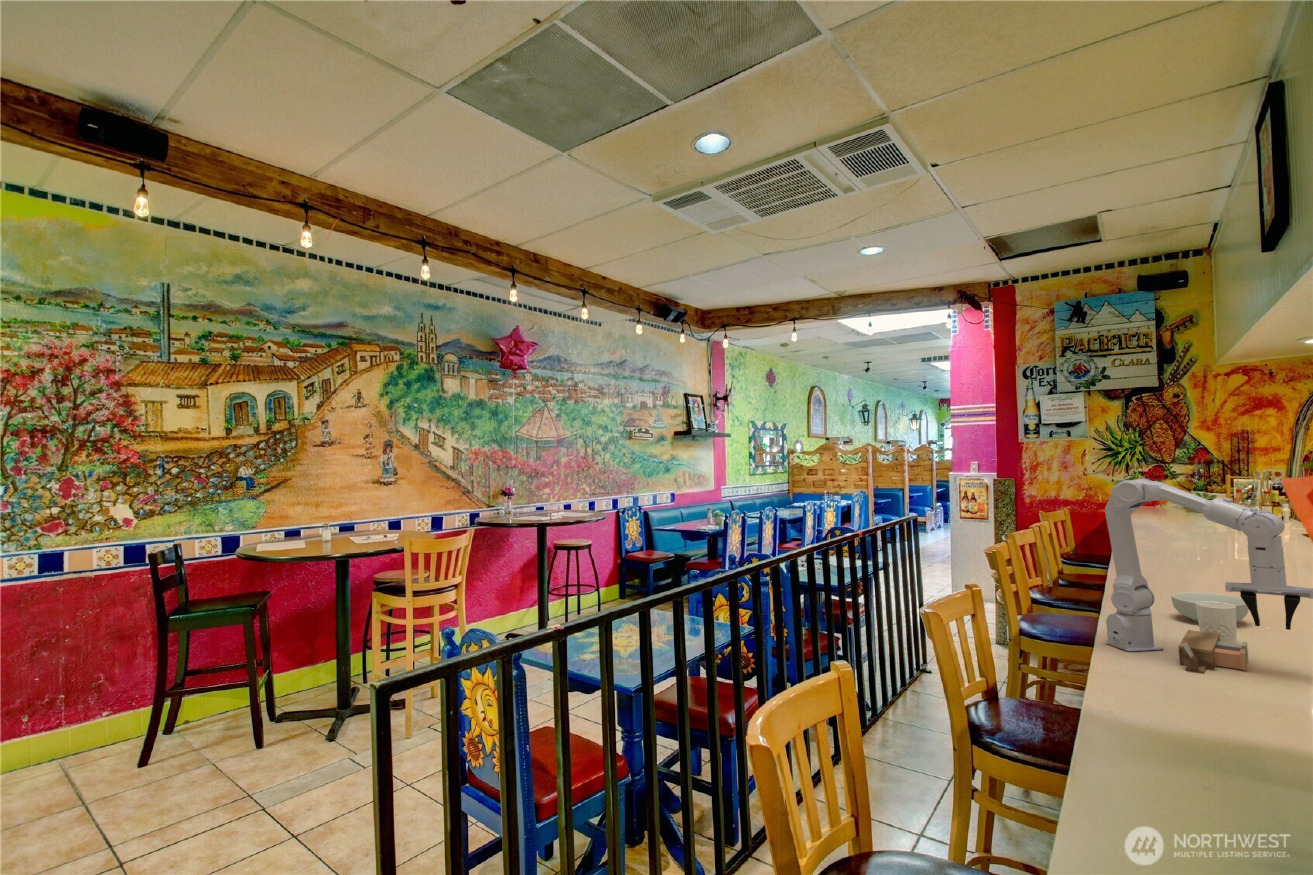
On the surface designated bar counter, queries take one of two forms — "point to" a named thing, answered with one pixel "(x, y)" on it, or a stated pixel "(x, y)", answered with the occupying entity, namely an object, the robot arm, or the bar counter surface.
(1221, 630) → the white cup
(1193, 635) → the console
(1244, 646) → the plunger grey
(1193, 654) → the toggle lever
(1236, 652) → the flanged terracotta block
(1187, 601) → the cereal bowl
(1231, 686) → the bar counter surface
